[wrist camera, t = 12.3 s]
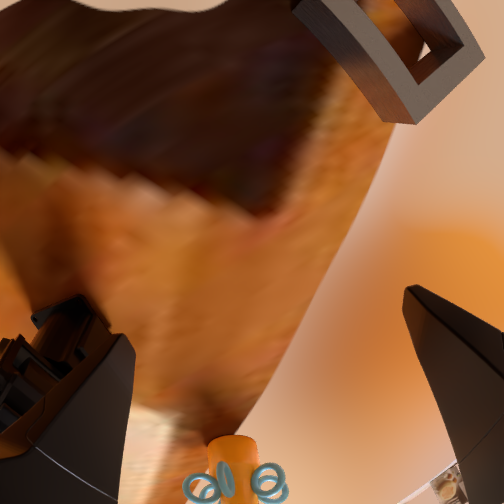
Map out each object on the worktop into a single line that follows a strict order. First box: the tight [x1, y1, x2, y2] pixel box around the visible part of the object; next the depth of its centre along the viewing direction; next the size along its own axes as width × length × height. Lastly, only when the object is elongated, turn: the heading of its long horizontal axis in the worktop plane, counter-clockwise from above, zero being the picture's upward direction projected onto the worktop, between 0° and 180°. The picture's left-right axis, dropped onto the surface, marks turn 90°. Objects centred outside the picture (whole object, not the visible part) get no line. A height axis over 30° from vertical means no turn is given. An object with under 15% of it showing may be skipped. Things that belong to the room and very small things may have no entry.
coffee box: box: [430, 466, 468, 504], centre depth 57 cm, size 9×6×16 cm
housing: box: [292, 0, 485, 125], centre depth 14 cm, size 10×10×4 cm
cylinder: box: [182, 435, 289, 504], centre depth 25 cm, size 12×10×15 cm
